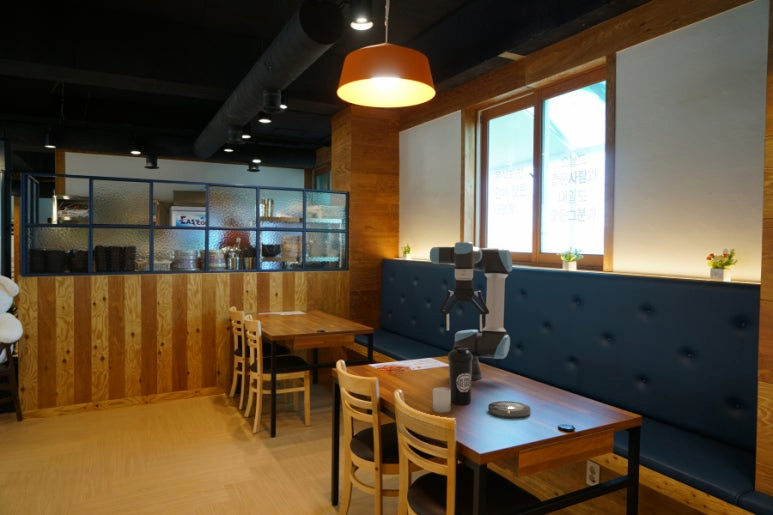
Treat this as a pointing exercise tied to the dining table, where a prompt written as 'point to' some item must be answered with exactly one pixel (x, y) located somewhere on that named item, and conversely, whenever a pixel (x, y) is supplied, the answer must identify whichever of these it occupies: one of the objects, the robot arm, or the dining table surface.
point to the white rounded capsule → (441, 399)
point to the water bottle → (460, 375)
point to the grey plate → (509, 409)
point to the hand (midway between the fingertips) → (464, 330)
